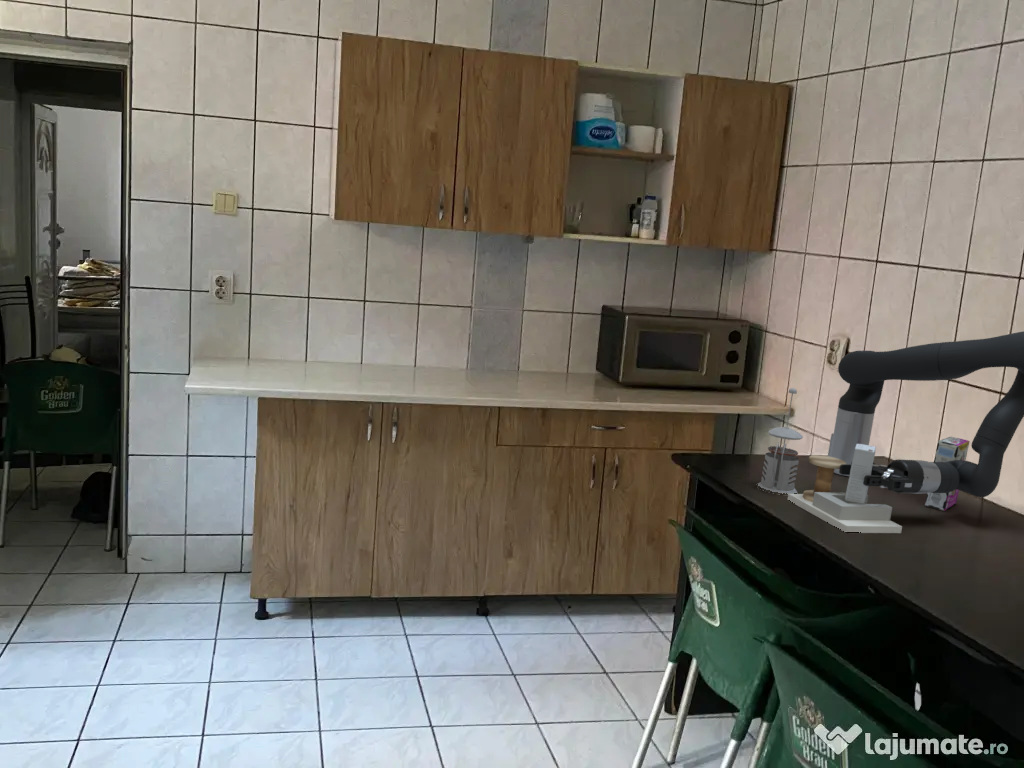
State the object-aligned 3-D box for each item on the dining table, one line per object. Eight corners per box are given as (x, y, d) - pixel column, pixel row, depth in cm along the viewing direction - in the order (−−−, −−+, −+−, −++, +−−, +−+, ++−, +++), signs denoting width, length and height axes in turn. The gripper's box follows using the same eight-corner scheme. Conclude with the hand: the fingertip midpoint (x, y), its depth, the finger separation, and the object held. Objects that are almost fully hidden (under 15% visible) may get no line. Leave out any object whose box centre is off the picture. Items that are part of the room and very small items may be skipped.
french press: (800, 488, 226) (817, 389, 222) (793, 499, 216) (810, 395, 211) (759, 480, 230) (775, 382, 226) (751, 490, 220) (767, 388, 215)
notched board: (787, 499, 215) (790, 481, 214) (838, 500, 219) (841, 482, 218) (845, 532, 194) (849, 512, 193) (900, 533, 198) (904, 513, 197)
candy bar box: (945, 512, 219) (959, 445, 216) (923, 506, 222) (936, 440, 219) (957, 504, 228) (970, 440, 225) (936, 498, 231) (949, 435, 228)
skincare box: (846, 494, 208) (855, 442, 205) (867, 498, 206) (876, 446, 204) (844, 500, 202) (853, 447, 200) (865, 505, 200) (874, 451, 198)
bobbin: (795, 493, 215) (802, 454, 213) (825, 494, 217) (831, 455, 216) (816, 504, 208) (822, 464, 206) (846, 505, 210) (853, 465, 208)
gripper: (895, 452, 213) (835, 449, 208) (939, 469, 200) (876, 467, 195) (889, 483, 214) (829, 481, 210) (932, 502, 201) (870, 501, 196)
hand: (852, 474), depth 202 cm, fingers open, 8 cm apart
